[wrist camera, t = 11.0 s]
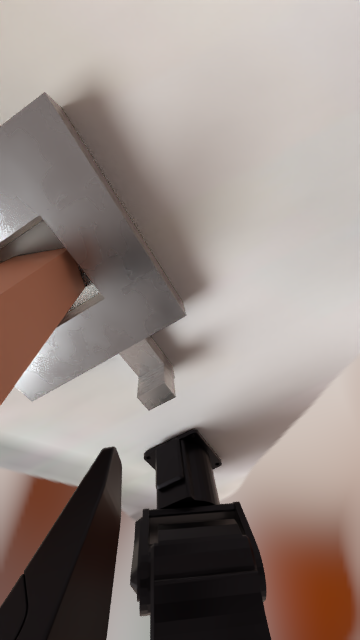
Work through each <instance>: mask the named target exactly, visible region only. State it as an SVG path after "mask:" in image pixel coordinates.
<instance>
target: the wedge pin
mask: <svg viewBox="0 0 360 640" xmlns="http://www.w3.org/2000/svg"><path fill="white" fill-rule="evenodd" d="M84 288H85V286H84V283H83V280H82V277H81V274H80V271H79V268H78V265H77V262H76V261H75V259H74V258H73V257H72V256H71V254H70V253H69V252H68V251H67V249H66V248H62V249H56V250H50V251H45V252H39V253H33V254H27V255H21V256H15V257H13V258H10V259H8V260H6V261H4V262H2V263H0V405H1V404H2V403H3V401H4V400H5V398H6V397H7V396H8V394H9V393H10V392H11V390H12V389H13V387H14V386H15V385H16V383H17V382H18V380H19V379H20V378H21V376H22V375H23V373H24V372H25V371H26V369H27V368H28V366H29V365H30V364H31V362H32V361H33V359H34V358H35V357H36V355H37V354H38V352H39V351H40V350H41V348H42V347H43V345H44V344H45V343H46V341H47V340H48V338H49V337H50V336H51V334H52V333H53V331H54V330H55V329H56V327H57V326H58V324H59V323H60V322H61V320H62V319H63V317H64V316H65V315H66V313H67V312H68V311H69V309H70V308H71V306H72V305H73V304H74V302H75V301H76V299H77V298H78V297H79V295H80V294H81V292H82V291H83V290H84Z"/></svg>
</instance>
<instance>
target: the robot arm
mask: <svg viewBox="0 0 360 640" xmlns="http://www.w3.org/2000/svg"><path fill="white" fill-rule="evenodd" d="M144 459H145V460H146V461H147V462H148V463H149V464H150V465H151V466H152V467H153V468H154V469H155V470H156V489H157V509H154V510H149V509H143V517H141V519H139V520H138V521H136V522H135V523H136V524H135V540H134V551H133V560H132V568H131V579H130V585H131V587H132V588H133V590H134V591H135V592H136V594H137V601H140V616H147V615H150V616H151V617H150V619H151V620H150V624H151V625H150V629H151V630H150V638H151V639H150V640H271V637H270V633H269V628H268V624H267V620H266V616H265V611H264V605H263V602H264V601H265V599H266V580H265V573H264V568H263V563H262V559H261V556H260V552H259V549H258V546H257V544H256V541H255V539H254V536H253V534H252V531H251V529H250V527H249V524H248V522H247V519H246V517H245V514H244V512H243V509H242V508H241V505H240V503H239V502H233V503H231V504H220V503H219V498H218V493H217V488H216V484H215V479H214V474H213V469H215V468H217V467H219V466H221V464H222V463H221V459H220V458H219V457H218V456H217V454H216V453H215V452H214V451H213V449H212V448H211V447H210V446H209V444H208V443H207V442H206V441H205V439H204V438H203V437H202V436H201V434H200V433H199V432H198V431H197V430H190V431H188V432H186V433H184V434H182V435H180V436H178V437H176V438H174V439H172V440H170V441H167V442H165V443H163V444H161V445H159V446H157V447H155V448H153V449H151V450H149V451H147V452H145V453H144ZM121 485H122V464H121V460H120V458H119V455H118V452H117V449H116V448H115V447H108V448H104V449H102V450H101V452H100V453H99V455H98V456H97V458H96V460H95V461H94V463H93V464H92V466H91V467H90V469H89V470H88V472H87V474H86V475H85V477H84V478H83V480H82V481H81V483H80V484H79V486H78V488H77V489H76V491H75V492H74V494H73V496H72V497H71V498H70V500H69V502H68V503H67V505H66V506H65V508H64V509H63V511H62V513H61V514H60V516H59V517H58V519H57V521H56V522H55V523H54V525H53V527H52V528H51V530H50V531H49V533H48V534H47V536H46V538H45V539H44V541H43V542H42V544H41V545H40V547H39V548H38V550H37V552H36V553H35V555H34V556H33V558H32V559H31V561H30V562H29V564H28V566H27V567H26V569H25V570H24V574H22V575H21V576H20V578H19V579H18V581H17V583H16V584H15V586H14V587H13V589H12V590H11V592H10V594H9V595H8V597H7V598H6V599H5V601H4V602H3V604H2V605H1V607H0V640H106V638H107V629H108V621H109V613H110V604H111V597H112V587H113V579H114V571H115V564H116V555H117V547H118V539H119V531H120V520H121Z"/></svg>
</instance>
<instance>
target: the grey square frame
mask: <svg viewBox="0 0 360 640" xmlns="http://www.w3.org/2000/svg"><path fill="white" fill-rule="evenodd" d="M42 220H44V221H45V222H46V224H47V225H48V226H49V227H50V229H51V230H52V231H53V233H54V234H55V235H56V236H57V238H58V239H59V240H60V242H61V243H62V244H63V245H64V247H65V248H66V249H67V251H68V252H69V253H70V254H71V256H72V257H73V258H74V259H75V261H76V262H77V263H78V265H79V266H80V267H81V268H82V270H83V271H84V272H85V274H86V275H87V276H88V277H89V279H90V280H91V281H92V283H93V284H94V285H95V286H96V288H97V289H98V290H99V292H100V293H99V294H97V295H96V296H94V297H92V298H91V299H89V300H88V301H86V302H84V303H83V304H81V305H79V306H78V307H76V308H74V309H73V310H71V311H69V312H68V313H66V315H65V316H64V317H63V319H62V320H61V322H60V323H59V324H58V326H57V327H56V329H55V330H54V331H53V333H52V334H51V336H50V337H49V338H48V340H47V341H46V343H45V344H44V345H43V347H42V348H41V350H40V351H39V352H38V354H37V355H36V357H35V358H34V359H33V361H32V362H31V364H30V365H29V366H28V368H27V369H26V371H25V372H24V373H23V375H22V376H21V378H20V379H19V380H18V382H17V383H16V385H15V386H14V387H16V388H17V389H18V390H19V391H20V392H21V393H23V394H24V395H25V396H26V397H27V398H29V399H30V400H31V401H34V400H36V399H38V398H39V397H41V396H43V395H45V394H47V393H48V392H50V391H52V390H54V389H56V388H57V387H59V386H61V385H63V384H65V383H66V382H68V381H70V380H72V379H74V378H75V377H77V376H79V375H81V374H83V373H84V372H86V371H88V370H90V369H91V368H93V367H95V366H97V365H99V364H100V363H102V362H104V361H106V360H108V359H109V358H111V357H113V356H115V355H117V354H118V353H120V352H122V351H124V350H126V349H127V348H129V347H131V346H133V345H135V344H136V343H138V342H140V341H142V340H144V339H145V338H147V337H149V336H151V335H152V334H154V333H156V332H158V331H160V330H161V329H163V328H165V327H167V326H169V325H170V324H172V323H174V322H176V321H178V320H179V319H181V318H183V317H185V316H186V313H185V309H184V305H183V302H182V300H181V299H180V297H179V295H178V294H177V292H176V291H175V289H174V287H173V286H172V284H171V283H170V281H169V279H168V278H167V276H166V275H165V273H164V271H163V270H162V268H161V267H160V265H159V263H158V262H157V260H156V259H155V257H154V255H153V254H152V252H151V251H150V249H149V247H148V246H147V244H146V242H145V241H144V239H143V238H142V236H141V234H140V233H139V231H138V230H137V228H136V226H135V225H134V223H133V222H132V220H131V218H130V217H129V215H128V214H127V212H126V210H125V209H124V207H123V206H122V204H121V202H120V201H119V199H118V198H117V196H116V194H115V193H114V191H113V190H112V188H111V186H110V185H109V183H108V182H107V180H106V178H105V177H104V175H103V173H102V172H101V170H100V169H99V167H98V165H97V164H96V162H95V161H94V159H93V157H92V156H91V154H90V153H89V151H88V149H87V148H86V146H85V145H84V143H83V141H82V140H81V138H80V137H79V135H78V133H77V132H76V130H75V129H74V127H73V125H72V124H71V122H70V121H69V119H68V117H67V116H66V114H65V112H64V111H63V109H62V108H61V107H60V106H59V105H58V104H57V103H56V102H55V101H54V100H53V99H52V98H51V97H50V96H48V95H47V94H46V93H45V92H44V93H43V94H42V95H40V96H39V97H38V98H36V99H35V100H34V101H33V102H31V103H30V104H29V105H27V106H26V107H25V108H24V109H22V110H21V111H20V112H18V113H17V114H16V115H15V116H13V117H12V118H11V119H9V120H8V121H7V122H6V123H4V124H3V125H2V126H0V249H1V248H3V247H4V246H6V245H7V244H9V243H10V242H11V241H13V240H14V239H16V238H17V237H19V236H20V235H22V234H23V233H25V232H26V231H28V230H29V229H30V228H32V227H33V226H35V225H36V224H38V223H39V222H41V221H42Z"/></svg>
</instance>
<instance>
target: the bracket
mask: <svg viewBox="0 0 360 640" xmlns="http://www.w3.org/2000/svg"><path fill="white" fill-rule="evenodd" d="M119 354H120V355H121V356H122V358H123V359H124V360H125V361H126V362H127V364H128V365H129V366H130V367H131V368H132V370H133V371H134V372H135V373H136V374H137V375H138V377H139V380H138V393H137V398H138V399H139V400H140V401H141V402H142V403H143V405H144V406H145V407H146V408H147V409H148V410H151V409H153V408H155V407H157V406H159V405H161V404H163V403H165V402H167V401H169V400H171V399H173V398H175V397H176V395H175V386H174V378H175V376H174V368H173V366H172V364H171V363H170V362H169V360H168V359H167V358H166V356H165V355H164V354H163V352H162V351H161V350H160V348H159V347H158V345H157V344H156V343H155V341H154V340H153V339H152V337H151V336H149V337H147V338H145V339H144V340H142V341H140V342H138V343H136V344H135V345H133V346H131V347H129V348H127V349H126V350H124V351H122V352H120V353H119Z"/></svg>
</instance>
